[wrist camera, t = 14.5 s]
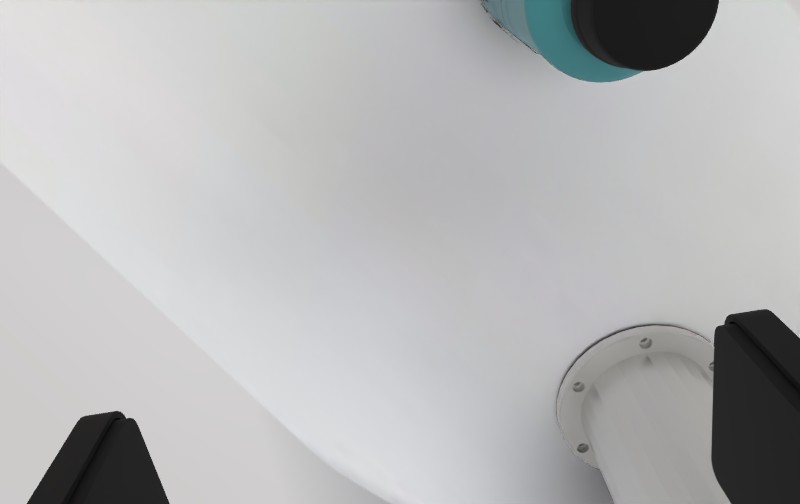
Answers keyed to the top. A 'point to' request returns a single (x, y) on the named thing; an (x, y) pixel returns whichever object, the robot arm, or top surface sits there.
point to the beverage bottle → (607, 33)
